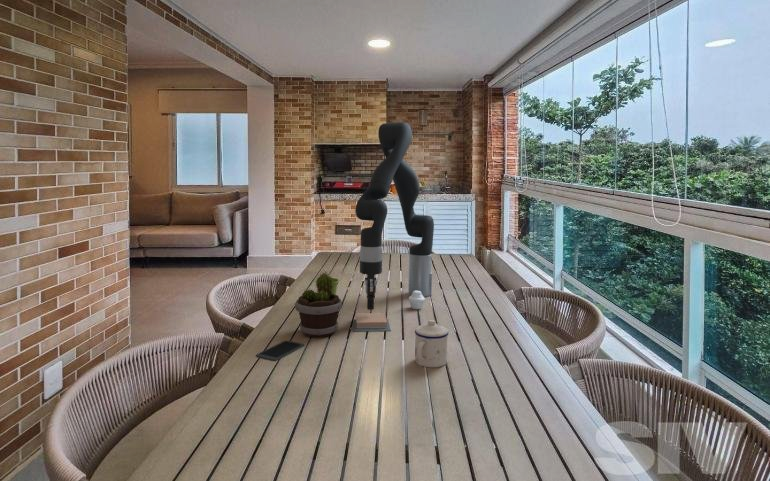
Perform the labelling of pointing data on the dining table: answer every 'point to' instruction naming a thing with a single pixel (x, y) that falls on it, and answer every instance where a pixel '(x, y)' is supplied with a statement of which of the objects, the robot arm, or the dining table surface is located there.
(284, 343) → the cell phone
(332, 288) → the plant pot
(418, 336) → the teacup with lid
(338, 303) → the flowerpot
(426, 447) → the dining table surface
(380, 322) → the tile
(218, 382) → the dining table surface
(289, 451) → the dining table surface
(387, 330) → the mat
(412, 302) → the white citrus juicer
